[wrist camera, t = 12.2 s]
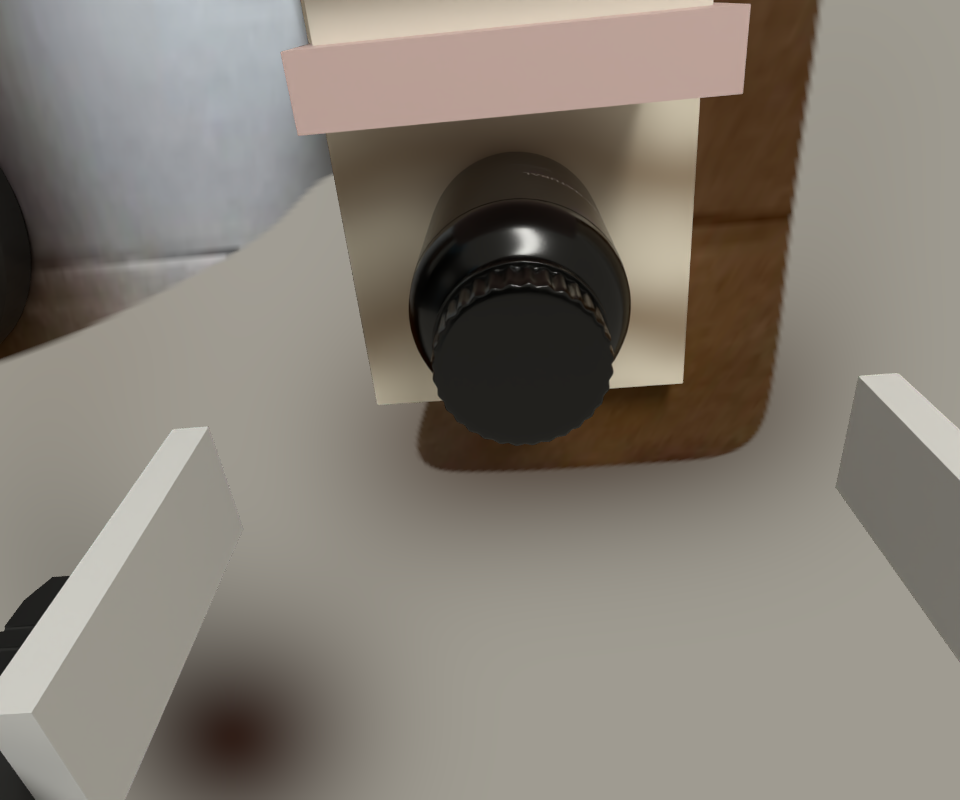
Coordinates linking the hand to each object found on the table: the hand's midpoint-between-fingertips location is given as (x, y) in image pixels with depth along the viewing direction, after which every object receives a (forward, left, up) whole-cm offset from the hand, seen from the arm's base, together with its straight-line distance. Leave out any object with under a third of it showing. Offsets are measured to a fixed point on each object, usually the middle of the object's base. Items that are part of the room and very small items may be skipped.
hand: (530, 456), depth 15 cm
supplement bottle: (0, 0, -16) cm, 16 cm away
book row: (+6, +6, -16) cm, 18 cm away
